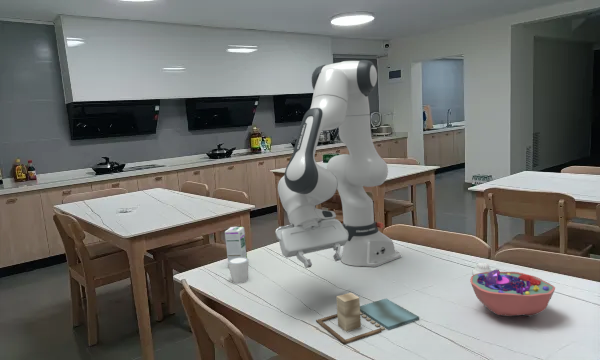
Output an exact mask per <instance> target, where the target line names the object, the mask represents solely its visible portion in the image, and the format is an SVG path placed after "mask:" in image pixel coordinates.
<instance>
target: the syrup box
mask: <svg viewBox="0 0 600 360" xmlns="http://www.w3.org/2000/svg"><path fill="white" fill-rule="evenodd" d="M224 238H225V246H226V256H227V264H228V267H229V263H228V261H229V260H231V259H233V258H239V257H244V258H248V253H247V252H248V251H247V242H246V233H245V227H244V226H230V227H229V228H228V229H227V230H225V231H224Z"/></svg>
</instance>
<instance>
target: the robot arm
mask: <svg viewBox="0 0 600 360" xmlns="http://www.w3.org/2000/svg"><path fill="white" fill-rule="evenodd" d="M377 80H378V72H377V68H376V66H375V64H374V63H373V62H372V61H370V60H365V59H361V60H344V61H341V62H334V63H330V64H322V65H319V66H317V67H316V68H315V69H314V70H313V72H312V74H311V86H312V89H313V95H312V100H311V105H310V108H309V109H308V110H307V111H306V112H305V113H304V115H303V118H302V121H301V123H300V126H299V130H298V131H299V132H298V133H297V134H298V135H297V138H296V141H295V145H294V147H293V151H292V154H291V156H290V159H289V161H288V163H287V165H286V168H285V169H284V170H285V171H284V175H283V176H282V177H281V178H280V180H278V184H277V192H278V197H279V200H280V203H281V205H282V207H283V209H284V210H285V212H286V214H287V219H288V221H289V224H288V225H287V224H286V225H281V226H278V228H276V229H275V233H274V234H275V237H276V239H277V240H278V242H279V246H280V251H281V254H282V256H284V258H286V259H287V258H292V257H296V258H297V260H298V261H300V262H301V263H302V264H303V266H304V267H305V269H308V268H312V265H313V264H312V262H311V259H310V258H309V259H308V258H306V256H305V254H307V255H308V254H311V253H315V252H320V251H324V250H325V251H326V250H330V249H333V251H335V253H334V255H333V256H332V257H333V259H334V261H335V262H339V261H341V262H342V263H343V264H345V265H347V266H353V267H354V266H355V267H373V268H375V267H378V266H381V265H384V264H386V263H389V262H391V261H394V260H398V259H400V258H402V253H401V252H400V251H399V250H396V249H395V244H394V242H393V240H392V239H391V238H390V237H388V236H387V235H386V234H384V233H382V232H381V230H379V229H383V228H384V226H385V225H384V223H383V222H381V221H375V220H374V219H375V214H374V212H375V211H374V202H373V200H372V198H371V197H370V195H368V194H367V192H366V191H365V187H366V188H370V187H377V186H381V185H382V184H384V183H385V182H386V180H387V179H388V173H389V167H388V164H387V163H386V161H385V160H384V159H383V158H382V157H381V155H380V154H379V153H378V151H377V149H376V147H375V144H374V142H373V138H372V130H371V113H370V102H369V95H370V93H372V91H374V89H375V87H376V86H377V82H378V81H377ZM337 128H338V134H339V135H338V137H339V140H340V141H341V142H342V143H343V144H344V145H345V146H346V148H347V150H348V153H349V154H346V153H342V154H339V155H335V156H332V157H331V158H329V160H328V162H327V164H326V167H323V166H322V165H319V164H318V163H317V161H316V159H315V155H316V151H317V147H318V143H319V139H320V136H321V133H322V131H323V132H324V131H332V130H335V129H337ZM337 191H338V194H339V196H340V200H341V207H342V216H343V217H342V218H343V220H342V221H343V222H342V223H341V221H340V219H337V218H336V217H337V214H336V212H335V211H333V210H326V209H321V208H316V207H317V206H318V205H321V204H323V203H326V202H327V201H328V200H330V199H331V198H333V196H335V194H336V193H337ZM341 247H342V253H341Z"/></svg>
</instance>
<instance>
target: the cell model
mask: <svg viewBox="0 0 600 360" xmlns="http://www.w3.org/2000/svg"><path fill="white" fill-rule="evenodd" d="M470 284H471V286H472V289H473V292H474V294H475V297H476V298H477V300H479V302H480V303H481V304H482V305H483V306H484V307H485V308H487V309H488V310H489V311H491V312H492V313H494V314H496V315H497V316H503V317H505V316H506V317H515V316H525V317H528V316H529V317H530V316H531V317H532V316H535V315H538V314H540V313H542V312H543V311H544V310H545V309H547V307H548V305H549V303H550V300H551V299H552V298H553V295H554V293H555V290H556V287H555V286H554V285H552V284H551V283H549V282H547V281H545V280H544V279H542V278H539V277H537V276H535V275H531V274H527V273H523V272H518V271H501V270H500V269H496V268H495V269H493V270H492V271H490V272H483V273H478V274H475V275H473V274H472V276H471V277H470Z"/></svg>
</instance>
